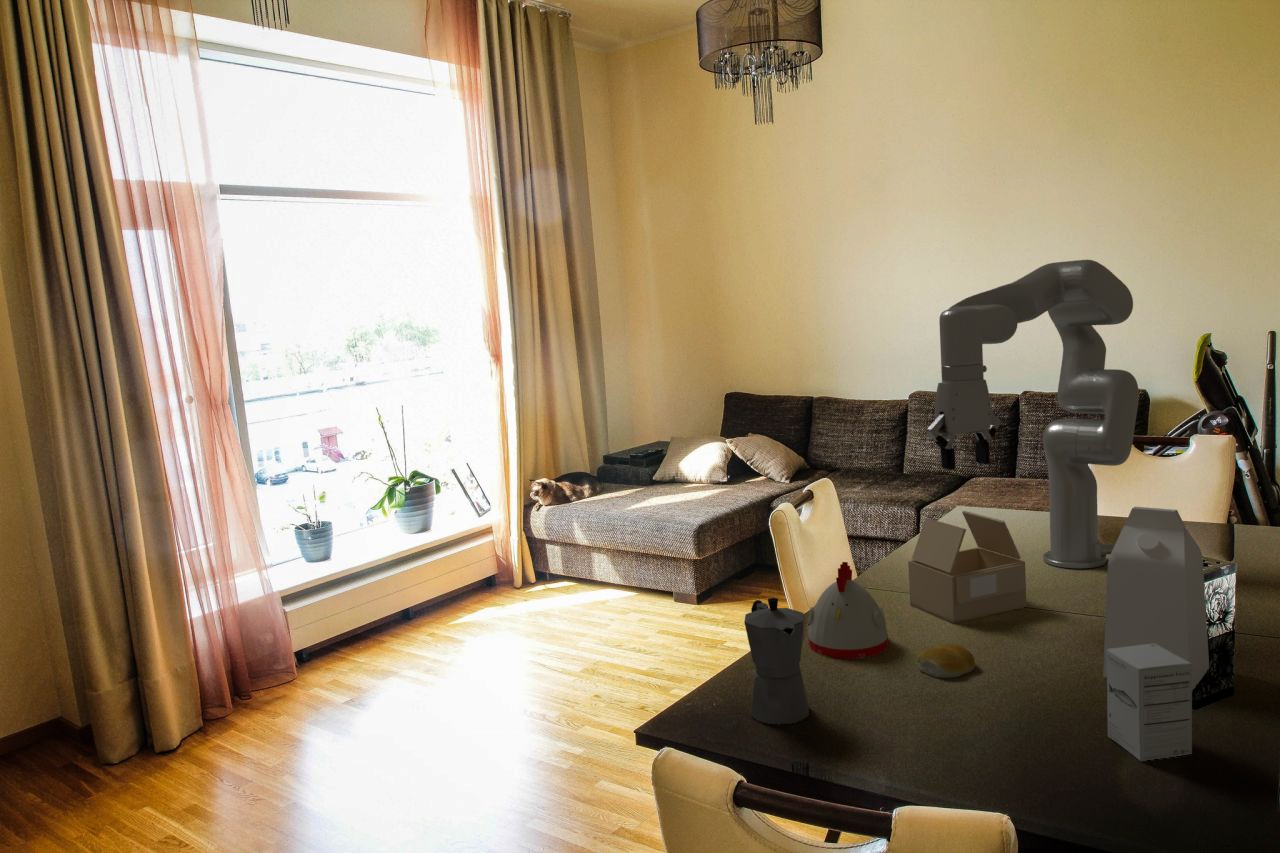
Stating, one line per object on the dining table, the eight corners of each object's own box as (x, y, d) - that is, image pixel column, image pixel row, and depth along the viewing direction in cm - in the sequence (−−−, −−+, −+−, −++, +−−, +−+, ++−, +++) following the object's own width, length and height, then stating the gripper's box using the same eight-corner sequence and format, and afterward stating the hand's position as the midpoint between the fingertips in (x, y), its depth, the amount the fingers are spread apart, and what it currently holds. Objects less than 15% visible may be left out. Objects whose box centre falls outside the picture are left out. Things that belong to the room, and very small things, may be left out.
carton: (977, 589, 191) (976, 546, 190) (1029, 608, 178) (1027, 562, 177) (908, 604, 186) (906, 560, 184) (956, 625, 172) (954, 577, 171)
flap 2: (979, 545, 189) (963, 510, 187) (1020, 558, 178) (1004, 521, 176) (978, 547, 189) (962, 512, 186) (1019, 559, 178) (1002, 522, 176)
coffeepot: (827, 725, 136) (820, 606, 134) (766, 736, 134) (758, 615, 132) (787, 686, 151) (780, 578, 149) (732, 695, 149) (724, 586, 147)
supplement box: (1105, 737, 126) (1104, 647, 125) (1158, 731, 127) (1157, 641, 125) (1139, 763, 119) (1138, 668, 117) (1194, 756, 119) (1194, 661, 118)
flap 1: (913, 559, 183) (927, 518, 184) (951, 573, 173) (966, 529, 173) (911, 559, 183) (925, 517, 183) (949, 572, 173) (964, 528, 173)
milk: (1209, 668, 145) (1208, 504, 142) (1190, 693, 137) (1189, 521, 134) (1125, 653, 153) (1123, 498, 150) (1103, 676, 145) (1100, 513, 142)
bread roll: (984, 668, 152) (983, 645, 152) (948, 683, 148) (947, 659, 147) (943, 655, 159) (942, 632, 159) (907, 669, 154) (906, 646, 154)
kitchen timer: (799, 654, 164) (794, 572, 162) (819, 628, 176) (815, 551, 175) (879, 662, 158) (875, 576, 156) (894, 634, 170) (891, 554, 169)
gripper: (985, 369, 183) (989, 457, 185) (911, 377, 177) (915, 469, 179) (1013, 370, 176) (1016, 462, 178) (937, 379, 170) (940, 474, 172)
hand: (965, 465), depth 179 cm, fingers open, 7 cm apart
